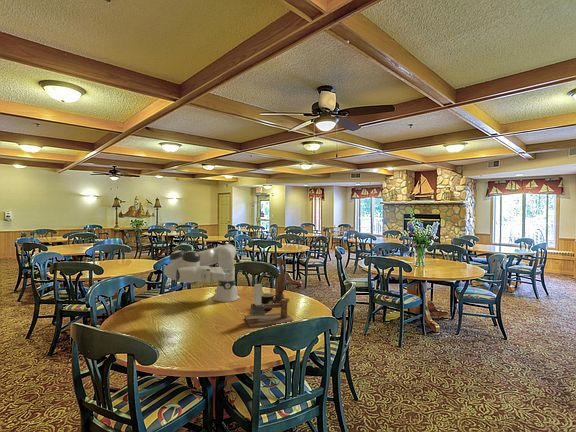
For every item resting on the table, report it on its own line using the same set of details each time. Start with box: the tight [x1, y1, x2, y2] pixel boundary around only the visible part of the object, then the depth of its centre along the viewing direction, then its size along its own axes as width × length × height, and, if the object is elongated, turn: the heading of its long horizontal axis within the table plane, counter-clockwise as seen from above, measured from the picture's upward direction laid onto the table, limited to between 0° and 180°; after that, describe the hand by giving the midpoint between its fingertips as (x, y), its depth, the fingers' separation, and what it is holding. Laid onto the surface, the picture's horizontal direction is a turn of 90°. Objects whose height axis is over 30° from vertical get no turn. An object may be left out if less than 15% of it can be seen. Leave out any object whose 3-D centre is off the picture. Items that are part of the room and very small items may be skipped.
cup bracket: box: [244, 299, 294, 329], centre depth 193 cm, size 16×26×12 cm, turn 107°
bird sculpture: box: [273, 257, 290, 303], centre depth 231 cm, size 11×12×32 cm
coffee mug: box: [261, 292, 277, 312], centre depth 214 cm, size 12×9×10 cm
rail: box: [253, 283, 263, 307], centre depth 191 cm, size 4×4×16 cm
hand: (231, 272), depth 189 cm, fingers open, 8 cm apart
